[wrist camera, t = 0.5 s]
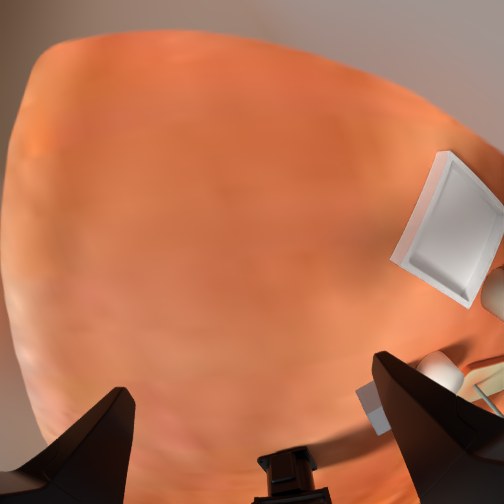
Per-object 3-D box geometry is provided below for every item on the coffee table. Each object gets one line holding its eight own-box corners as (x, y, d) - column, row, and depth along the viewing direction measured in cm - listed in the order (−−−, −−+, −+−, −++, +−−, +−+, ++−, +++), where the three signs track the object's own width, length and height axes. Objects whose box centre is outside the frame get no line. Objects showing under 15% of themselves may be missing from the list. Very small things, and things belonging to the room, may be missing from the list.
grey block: (404, 391, 27) (418, 412, 23) (367, 412, 27) (378, 436, 23) (395, 366, 26) (410, 388, 22) (354, 389, 26) (366, 414, 22)
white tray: (458, 301, 24) (468, 309, 22) (389, 259, 23) (399, 266, 21) (498, 211, 21) (510, 214, 19) (437, 151, 20) (450, 150, 18)
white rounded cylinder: (444, 370, 26) (462, 391, 22) (415, 387, 26) (431, 410, 22) (445, 344, 25) (465, 365, 21) (413, 362, 25) (432, 385, 21)
